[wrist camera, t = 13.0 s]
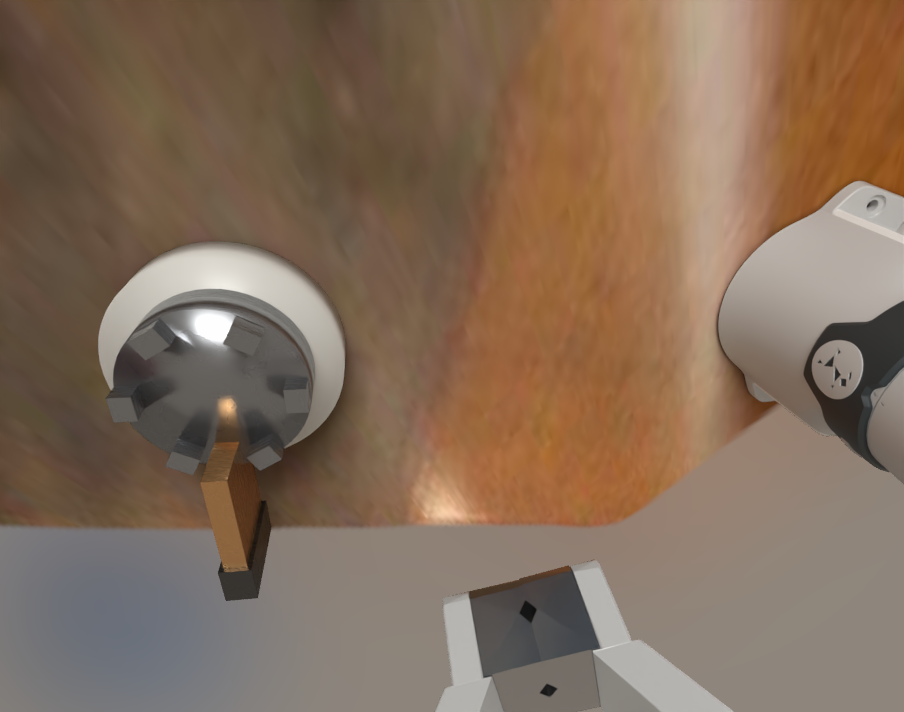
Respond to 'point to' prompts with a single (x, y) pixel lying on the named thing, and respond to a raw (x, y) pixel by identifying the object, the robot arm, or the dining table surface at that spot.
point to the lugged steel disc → (219, 408)
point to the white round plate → (247, 275)
